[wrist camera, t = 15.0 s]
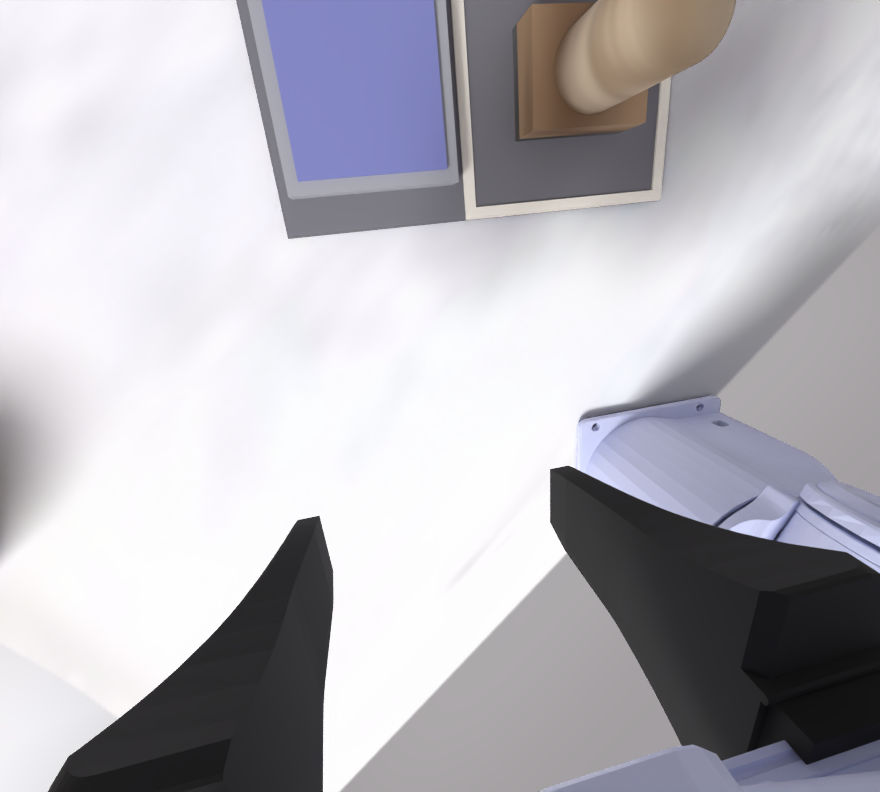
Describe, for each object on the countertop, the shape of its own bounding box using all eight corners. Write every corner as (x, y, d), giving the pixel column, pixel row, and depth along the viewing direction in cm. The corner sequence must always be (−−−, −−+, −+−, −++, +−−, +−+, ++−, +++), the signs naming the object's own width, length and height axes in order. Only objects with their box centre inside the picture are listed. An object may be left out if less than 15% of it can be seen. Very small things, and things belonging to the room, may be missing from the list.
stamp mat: (673, -59, 18) (709, -92, 16) (652, 201, 21) (679, 197, 19) (225, -59, 15) (208, -99, 13) (289, 238, 19) (283, 238, 17)
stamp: (623, 25, 18) (776, -96, 11) (617, 133, 19) (751, 79, 13) (512, 29, 17) (609, -99, 11) (515, 141, 19) (603, 88, 12)
